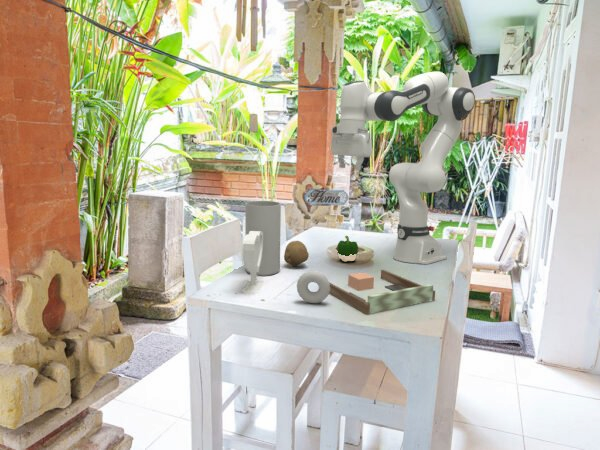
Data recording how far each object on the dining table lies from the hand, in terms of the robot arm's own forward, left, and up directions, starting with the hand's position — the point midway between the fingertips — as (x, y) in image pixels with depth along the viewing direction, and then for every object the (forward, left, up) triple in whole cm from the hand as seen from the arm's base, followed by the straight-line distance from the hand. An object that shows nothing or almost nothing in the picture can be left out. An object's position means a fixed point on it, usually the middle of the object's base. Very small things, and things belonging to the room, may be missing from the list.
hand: (349, 168), depth 163 cm
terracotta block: (+5, +17, -38) cm, 42 cm away
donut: (+27, +23, -38) cm, 52 cm away
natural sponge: (+13, -13, -38) cm, 42 cm away
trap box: (+5, +25, -38) cm, 46 cm away
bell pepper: (-9, -11, -38) cm, 40 cm away
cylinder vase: (+27, -13, -38) cm, 49 cm away
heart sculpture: (+37, +1, -38) cm, 53 cm away
